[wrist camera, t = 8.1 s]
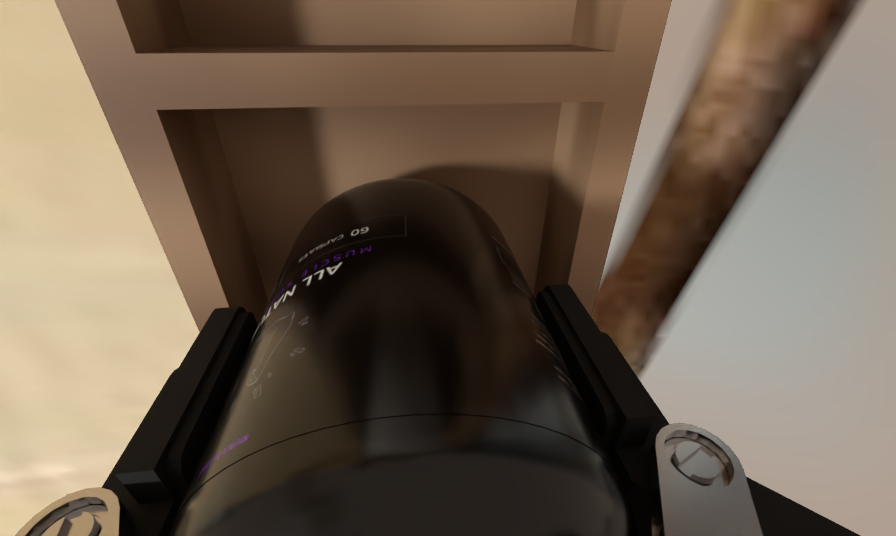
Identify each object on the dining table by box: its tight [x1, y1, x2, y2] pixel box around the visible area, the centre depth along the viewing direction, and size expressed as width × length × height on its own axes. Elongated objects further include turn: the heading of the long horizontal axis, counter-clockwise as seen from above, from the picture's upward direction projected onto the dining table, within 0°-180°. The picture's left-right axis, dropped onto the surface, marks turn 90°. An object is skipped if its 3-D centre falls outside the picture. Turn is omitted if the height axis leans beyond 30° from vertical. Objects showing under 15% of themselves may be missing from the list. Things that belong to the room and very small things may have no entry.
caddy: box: [55, 0, 672, 332], centre depth 10 cm, size 24×12×4 cm, turn 0°
